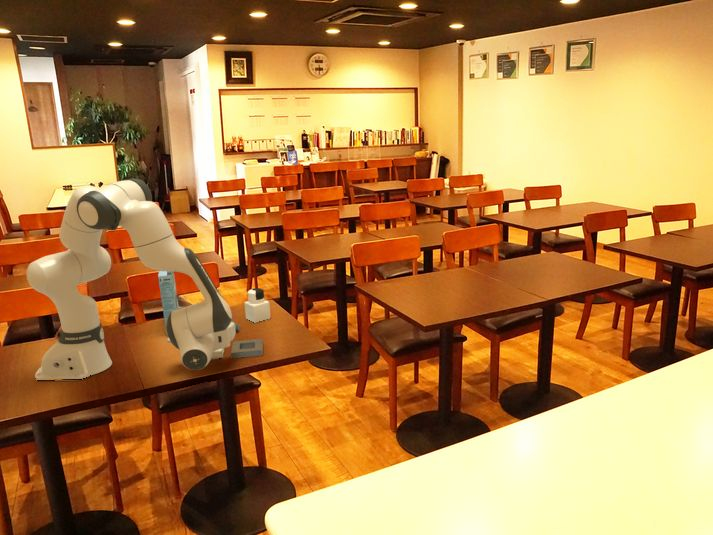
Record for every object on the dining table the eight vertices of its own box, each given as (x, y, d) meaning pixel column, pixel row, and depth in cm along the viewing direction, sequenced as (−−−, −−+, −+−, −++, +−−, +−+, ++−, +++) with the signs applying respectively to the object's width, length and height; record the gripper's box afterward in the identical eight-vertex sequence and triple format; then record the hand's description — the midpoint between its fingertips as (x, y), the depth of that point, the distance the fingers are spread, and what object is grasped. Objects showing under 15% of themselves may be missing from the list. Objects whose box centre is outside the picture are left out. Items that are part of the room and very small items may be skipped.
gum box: (180, 334, 215) (172, 275, 209) (165, 336, 214) (157, 276, 208) (180, 317, 234) (173, 262, 227) (167, 319, 232) (159, 263, 226)
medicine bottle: (261, 314, 233) (258, 285, 230) (271, 319, 227) (268, 289, 224) (245, 319, 228) (242, 289, 225) (255, 323, 223) (252, 293, 220)
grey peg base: (231, 358, 192) (231, 352, 192) (233, 346, 202) (233, 341, 201) (262, 355, 194) (262, 349, 193) (262, 344, 203) (262, 338, 203)
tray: (191, 361, 192) (190, 354, 191) (194, 351, 199) (193, 344, 199) (222, 358, 193) (221, 351, 192) (224, 348, 201) (223, 342, 200)
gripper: (167, 352, 181) (174, 336, 194) (235, 346, 183) (237, 330, 196) (164, 333, 179) (171, 318, 192) (232, 327, 182) (235, 312, 195)
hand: (205, 324), depth 194 cm, fingers closed on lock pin, 4 cm apart
